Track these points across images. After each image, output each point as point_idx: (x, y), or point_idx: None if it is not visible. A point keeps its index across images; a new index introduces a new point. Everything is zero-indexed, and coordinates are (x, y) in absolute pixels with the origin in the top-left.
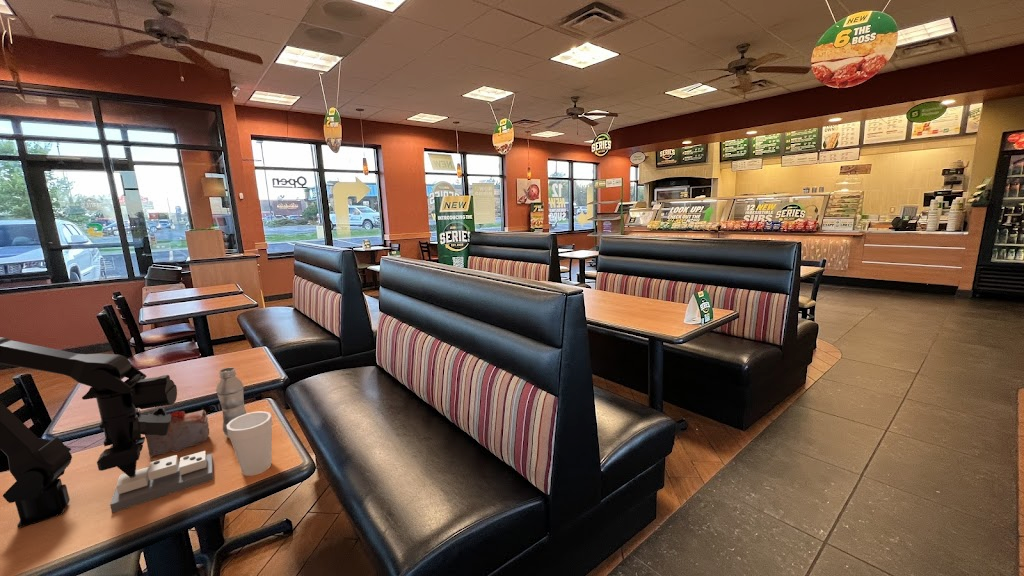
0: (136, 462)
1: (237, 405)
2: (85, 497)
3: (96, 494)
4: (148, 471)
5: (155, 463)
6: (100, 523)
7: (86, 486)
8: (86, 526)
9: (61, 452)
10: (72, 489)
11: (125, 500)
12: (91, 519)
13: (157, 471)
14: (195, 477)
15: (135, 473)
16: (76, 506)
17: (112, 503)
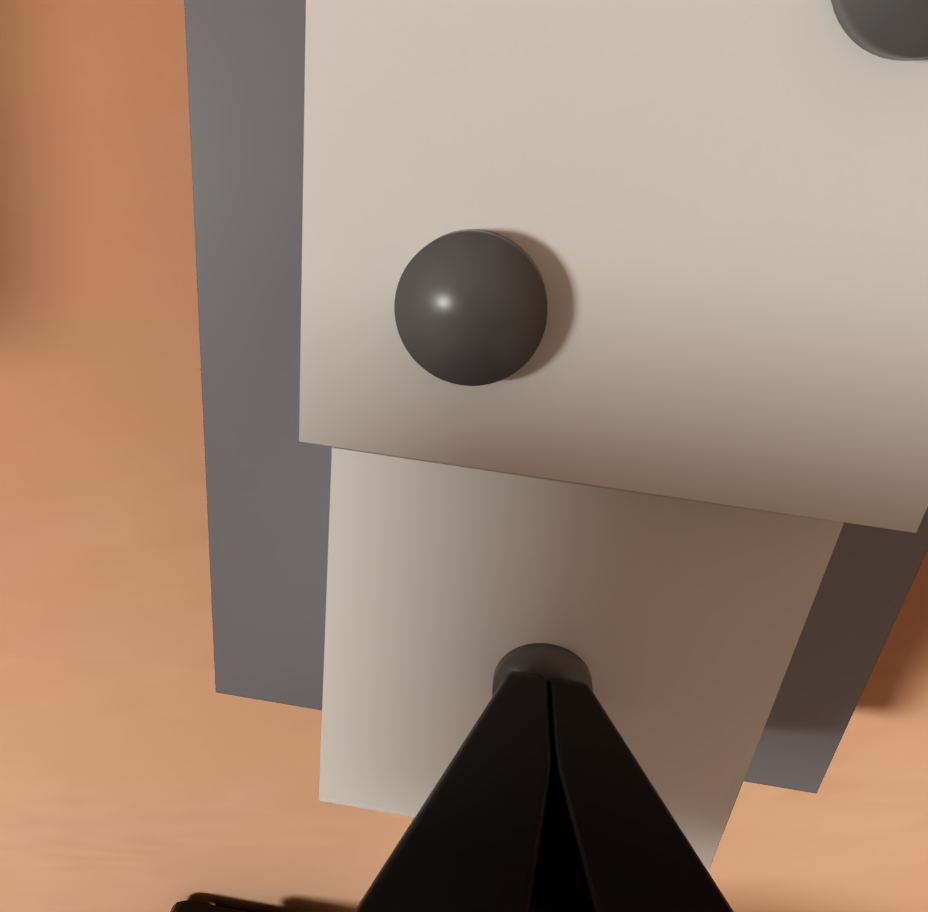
0: (443, 823)
1: None
2: (233, 821)
3: (237, 764)
4: (846, 513)
5: (530, 344)
6: (900, 780)
7: (16, 804)
8: (829, 850)
9: None
10: (10, 868)
11: (866, 668)
12: (729, 819)
13: None
14: None
15: (457, 644)
16: (356, 870)
17: (814, 776)
